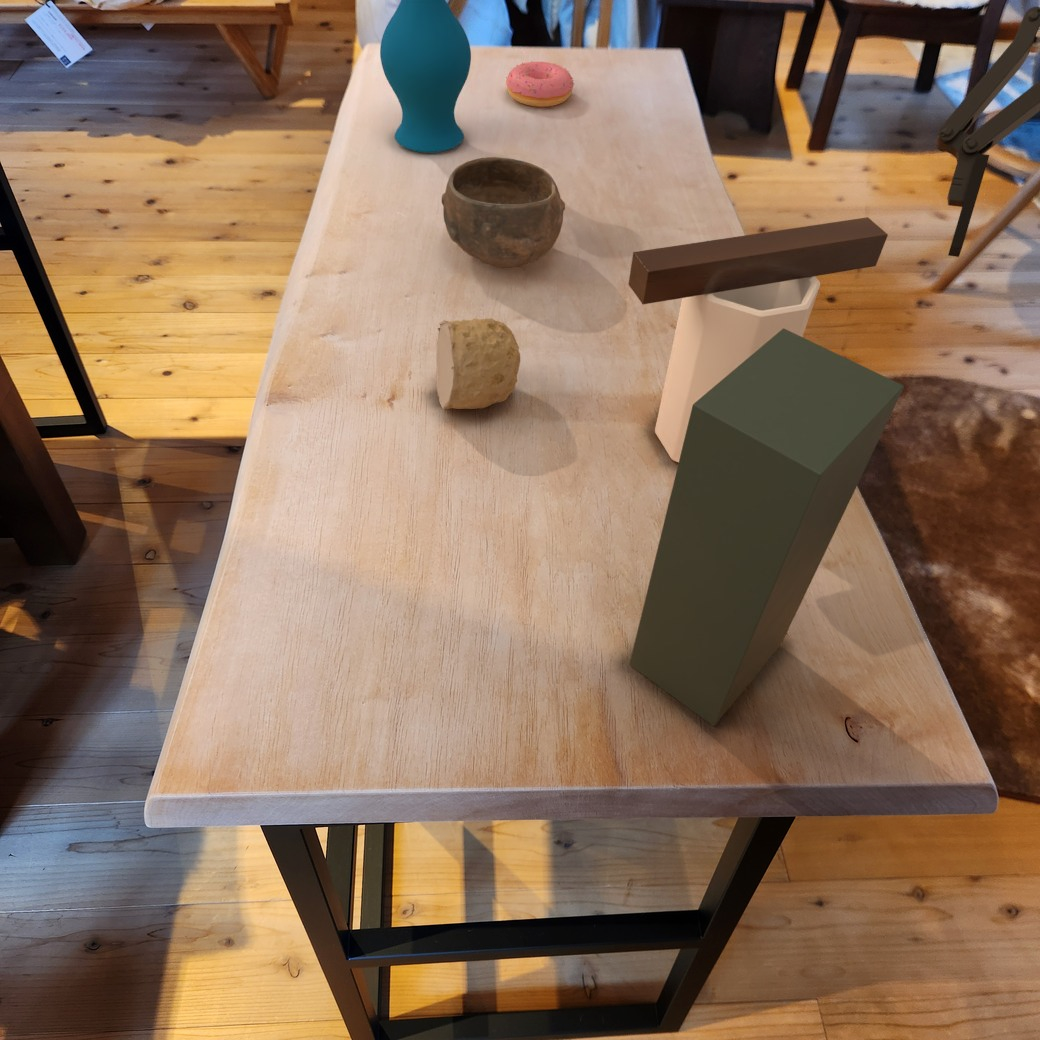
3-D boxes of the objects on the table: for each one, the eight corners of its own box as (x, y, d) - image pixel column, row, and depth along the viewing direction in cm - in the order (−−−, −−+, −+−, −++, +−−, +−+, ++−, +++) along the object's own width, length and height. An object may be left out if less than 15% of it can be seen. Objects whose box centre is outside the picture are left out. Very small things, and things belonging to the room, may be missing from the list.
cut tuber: (400, 317, 85) (490, 276, 84) (444, 391, 92) (528, 354, 91) (404, 371, 79) (502, 327, 77) (451, 446, 86) (542, 407, 84)
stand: (781, 645, 69) (904, 385, 49) (713, 727, 64) (821, 475, 44) (699, 591, 72) (783, 327, 52) (628, 664, 67) (692, 404, 47)
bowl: (529, 300, 100) (533, 222, 93) (417, 264, 105) (413, 186, 97) (578, 246, 109) (585, 170, 101) (473, 214, 113) (472, 139, 105)
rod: (875, 266, 73) (888, 234, 71) (642, 304, 68) (648, 271, 66) (856, 248, 75) (868, 216, 73) (628, 284, 70) (633, 251, 68)
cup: (631, 431, 86) (661, 268, 72) (705, 387, 91) (745, 227, 77) (715, 494, 80) (764, 331, 66) (788, 444, 85) (848, 282, 71)
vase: (387, 122, 130) (369, -97, 110) (469, 122, 132) (467, -96, 111) (387, 159, 123) (368, -71, 102) (474, 158, 124) (473, -69, 103)
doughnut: (499, 84, 142) (500, 57, 138) (563, 81, 143) (565, 54, 140) (513, 112, 135) (513, 84, 131) (580, 108, 136) (582, 81, 133)
